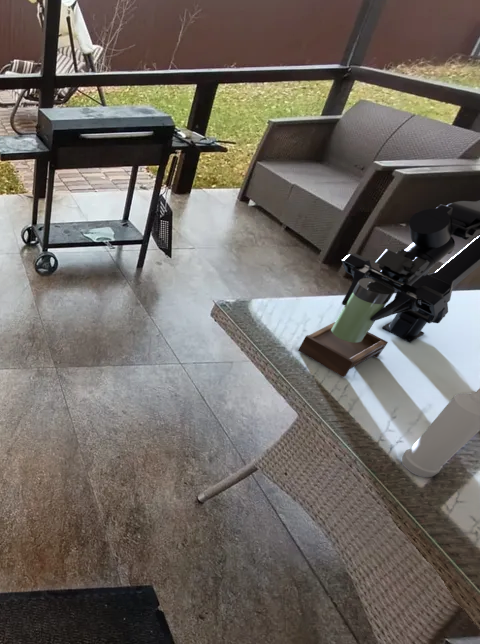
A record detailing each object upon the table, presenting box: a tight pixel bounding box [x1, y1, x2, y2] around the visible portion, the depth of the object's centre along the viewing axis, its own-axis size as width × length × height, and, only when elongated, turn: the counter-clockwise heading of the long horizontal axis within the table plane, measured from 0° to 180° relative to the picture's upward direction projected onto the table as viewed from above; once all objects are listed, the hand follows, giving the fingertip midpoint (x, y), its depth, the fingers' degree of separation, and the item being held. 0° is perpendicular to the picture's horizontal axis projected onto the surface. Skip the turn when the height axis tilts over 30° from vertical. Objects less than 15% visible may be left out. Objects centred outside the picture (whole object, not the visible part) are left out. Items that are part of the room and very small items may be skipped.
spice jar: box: [331, 278, 396, 343], centre depth 101 cm, size 6×6×13 cm
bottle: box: [400, 387, 480, 478], centre depth 78 cm, size 5×5×25 cm
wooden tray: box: [297, 321, 389, 378], centre depth 109 cm, size 14×10×4 cm
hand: (356, 312), depth 101 cm, fingers closed on spice jar, 6 cm apart
